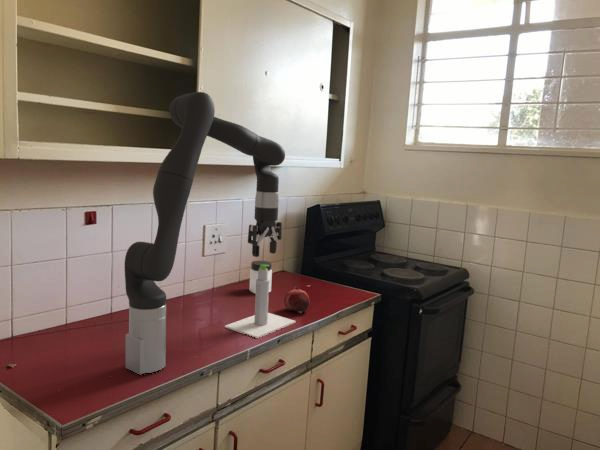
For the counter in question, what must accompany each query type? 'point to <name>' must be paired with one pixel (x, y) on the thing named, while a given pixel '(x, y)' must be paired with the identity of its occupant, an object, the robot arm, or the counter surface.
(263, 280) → the bottle
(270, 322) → the tile
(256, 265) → the jar
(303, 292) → the fruit
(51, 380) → the counter surface
